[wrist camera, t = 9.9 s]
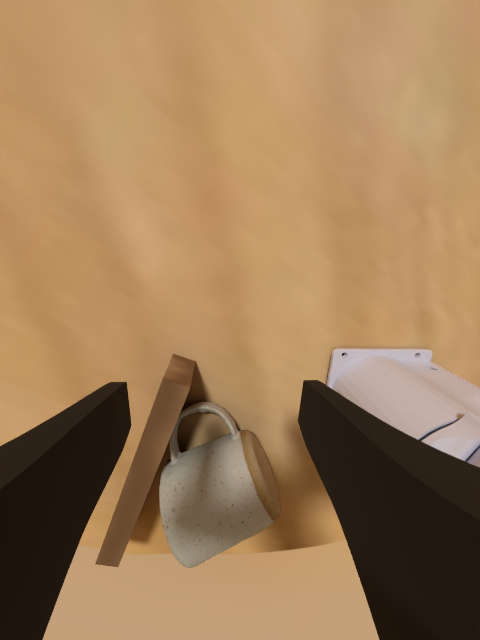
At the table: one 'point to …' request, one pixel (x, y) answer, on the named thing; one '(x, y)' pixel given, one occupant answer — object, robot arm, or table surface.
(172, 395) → the rail
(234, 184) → the table surface
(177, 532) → the ceramic mug
